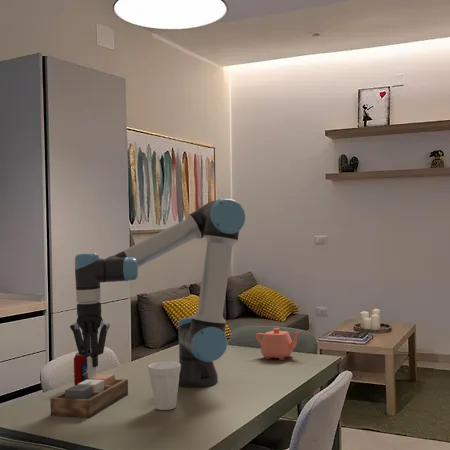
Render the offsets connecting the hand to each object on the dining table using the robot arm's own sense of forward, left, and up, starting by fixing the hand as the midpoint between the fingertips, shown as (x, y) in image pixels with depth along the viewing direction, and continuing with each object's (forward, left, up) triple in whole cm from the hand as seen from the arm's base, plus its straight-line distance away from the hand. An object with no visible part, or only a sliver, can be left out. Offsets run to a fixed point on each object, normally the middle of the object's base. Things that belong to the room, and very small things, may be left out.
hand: (92, 377), depth 194 cm
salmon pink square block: (0, -7, -6) cm, 9 cm away
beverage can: (+13, -19, -9) cm, 25 cm away
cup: (-25, 0, -9) cm, 26 cm away
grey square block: (0, +8, -6) cm, 9 cm away
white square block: (0, 0, -5) cm, 6 cm away
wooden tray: (0, 0, -9) cm, 9 cm away
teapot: (-45, -77, -9) cm, 89 cm away
